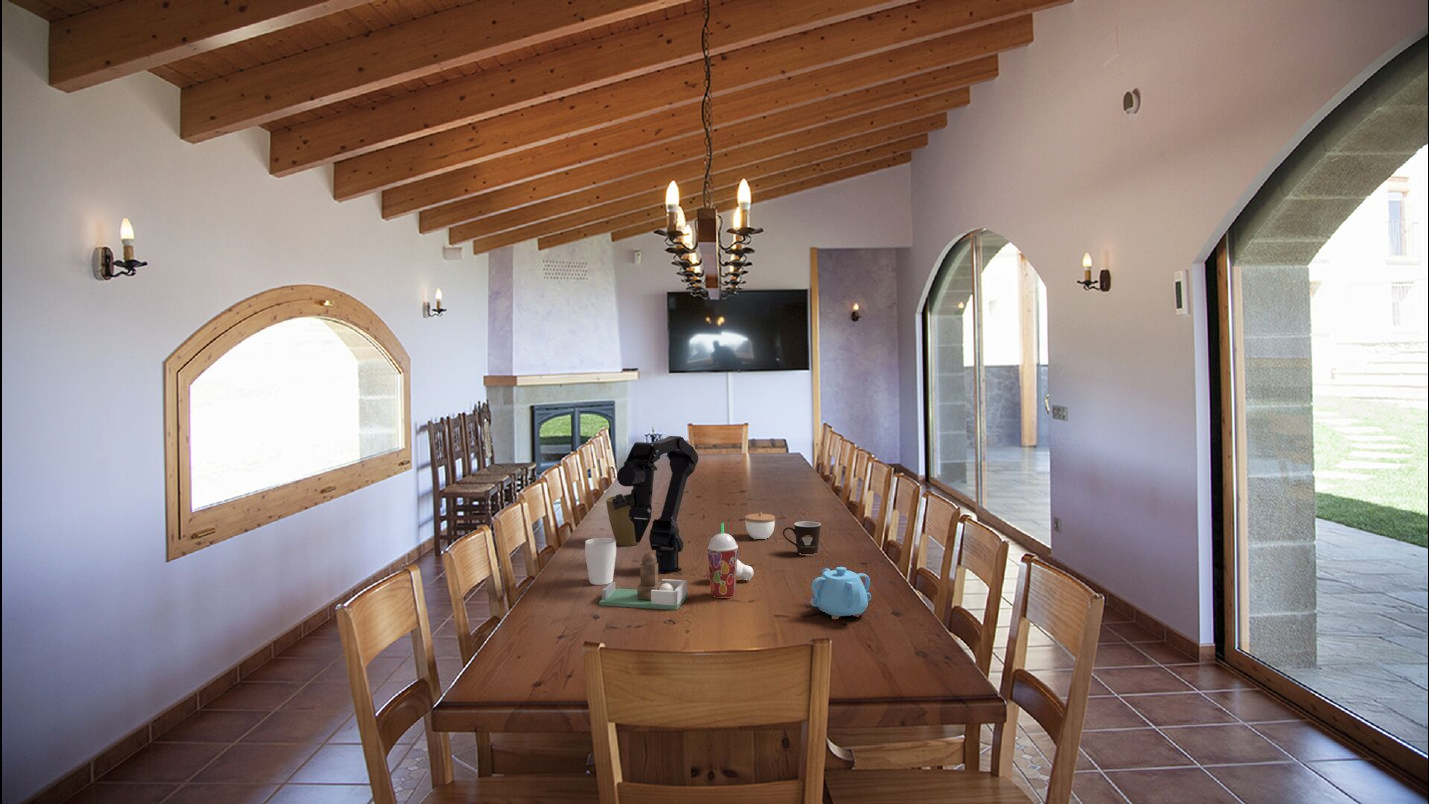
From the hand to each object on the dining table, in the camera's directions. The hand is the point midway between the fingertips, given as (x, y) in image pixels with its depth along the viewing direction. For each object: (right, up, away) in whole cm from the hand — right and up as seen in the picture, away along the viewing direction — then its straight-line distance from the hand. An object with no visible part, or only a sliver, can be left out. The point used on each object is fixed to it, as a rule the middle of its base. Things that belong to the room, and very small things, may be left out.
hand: (638, 540), depth 229 cm
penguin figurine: (+27, -13, +3) cm, 30 cm away
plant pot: (-8, -10, +50) cm, 52 cm away
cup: (-11, -13, +3) cm, 17 cm away
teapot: (+54, -14, -26) cm, 61 cm away
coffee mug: (+51, -10, +34) cm, 62 cm away
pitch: (+3, -14, -15) cm, 20 cm away
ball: (+9, -11, -16) cm, 21 cm away
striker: (+4, -12, -15) cm, 20 cm away
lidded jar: (+38, -9, +57) cm, 69 cm away
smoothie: (+24, -13, -11) cm, 30 cm away
